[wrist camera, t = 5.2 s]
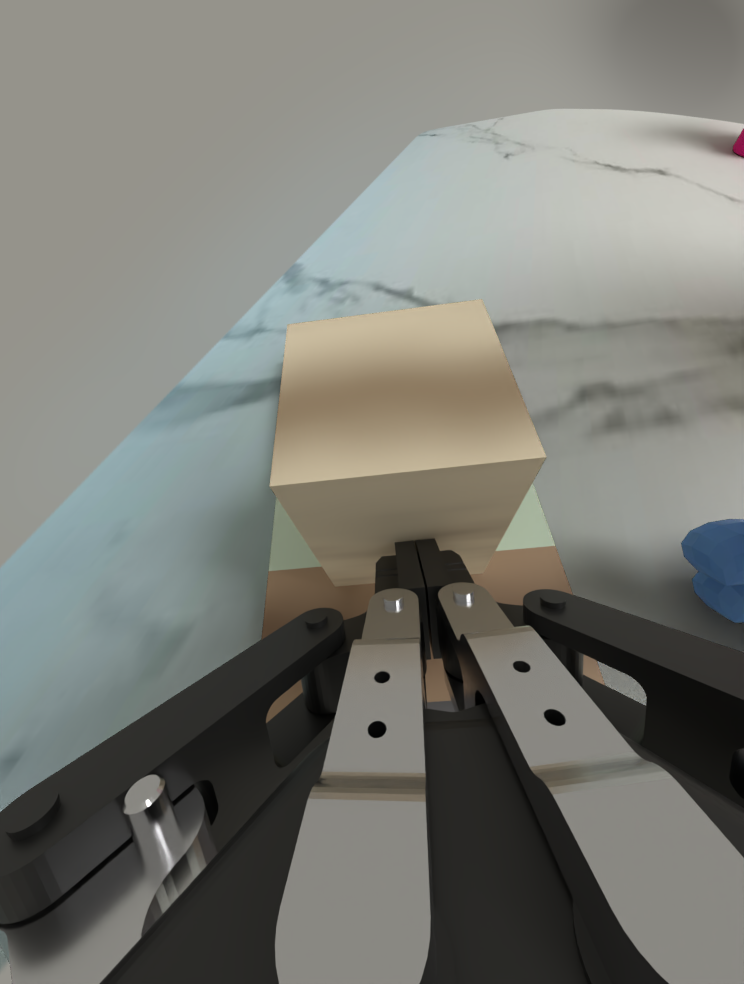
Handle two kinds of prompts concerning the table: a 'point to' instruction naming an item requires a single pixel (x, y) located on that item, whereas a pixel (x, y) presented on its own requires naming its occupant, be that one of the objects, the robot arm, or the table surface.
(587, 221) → the table surface
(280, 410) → the beech block
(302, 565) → the pad
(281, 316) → the table surface
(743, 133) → the pepper mill
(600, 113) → the table surface
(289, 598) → the board
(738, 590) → the grapes
